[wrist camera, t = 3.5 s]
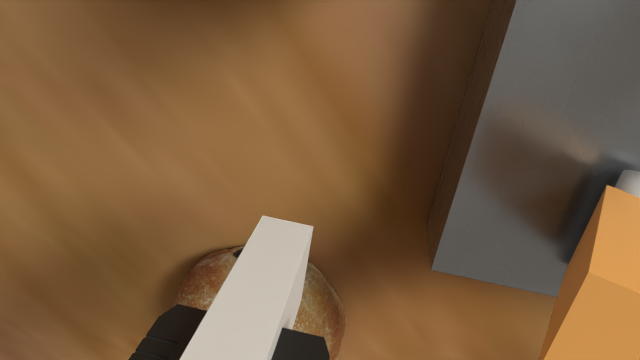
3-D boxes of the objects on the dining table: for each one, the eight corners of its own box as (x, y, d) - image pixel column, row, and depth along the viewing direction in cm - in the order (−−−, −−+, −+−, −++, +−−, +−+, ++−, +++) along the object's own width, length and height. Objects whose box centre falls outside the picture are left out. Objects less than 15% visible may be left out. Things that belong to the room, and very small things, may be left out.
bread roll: (349, 232, 29) (328, 250, 22) (353, 391, 29) (334, 467, 21) (207, 233, 31) (140, 250, 23) (210, 382, 31) (144, 449, 23)
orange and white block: (564, 268, 19) (525, 395, 13) (614, 163, 17) (597, 255, 11) (615, 289, 19) (601, 437, 12) (675, 182, 16) (695, 294, 10)
